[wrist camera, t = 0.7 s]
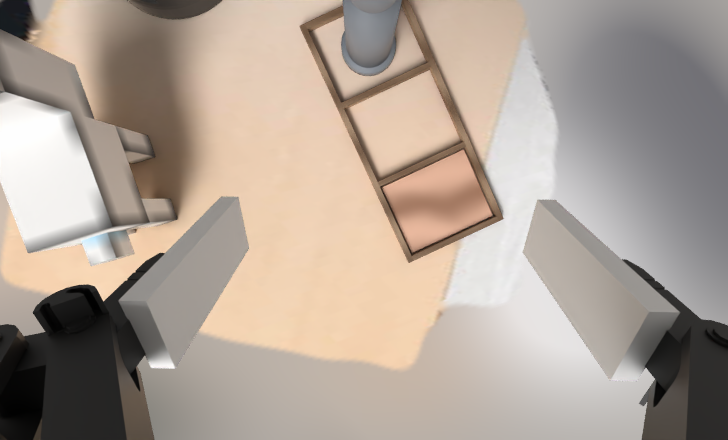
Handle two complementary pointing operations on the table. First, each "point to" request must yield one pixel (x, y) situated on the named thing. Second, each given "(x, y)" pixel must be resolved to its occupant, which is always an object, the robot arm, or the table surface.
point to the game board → (431, 184)
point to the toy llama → (67, 160)
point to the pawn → (369, 34)
